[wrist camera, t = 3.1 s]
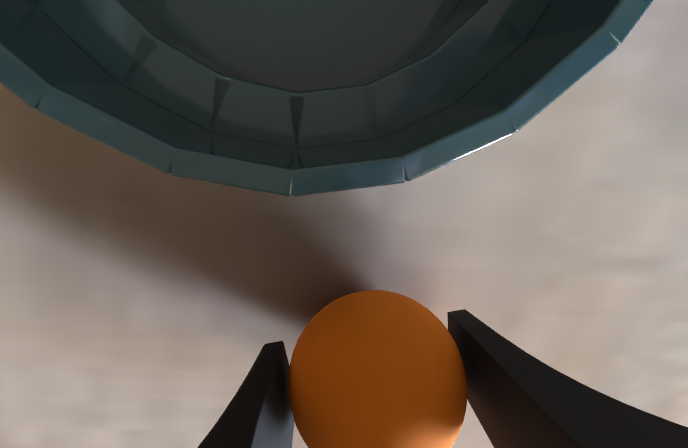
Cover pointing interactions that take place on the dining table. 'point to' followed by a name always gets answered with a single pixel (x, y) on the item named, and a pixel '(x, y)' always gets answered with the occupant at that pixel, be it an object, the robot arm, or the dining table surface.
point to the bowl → (302, 80)
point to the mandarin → (377, 376)
